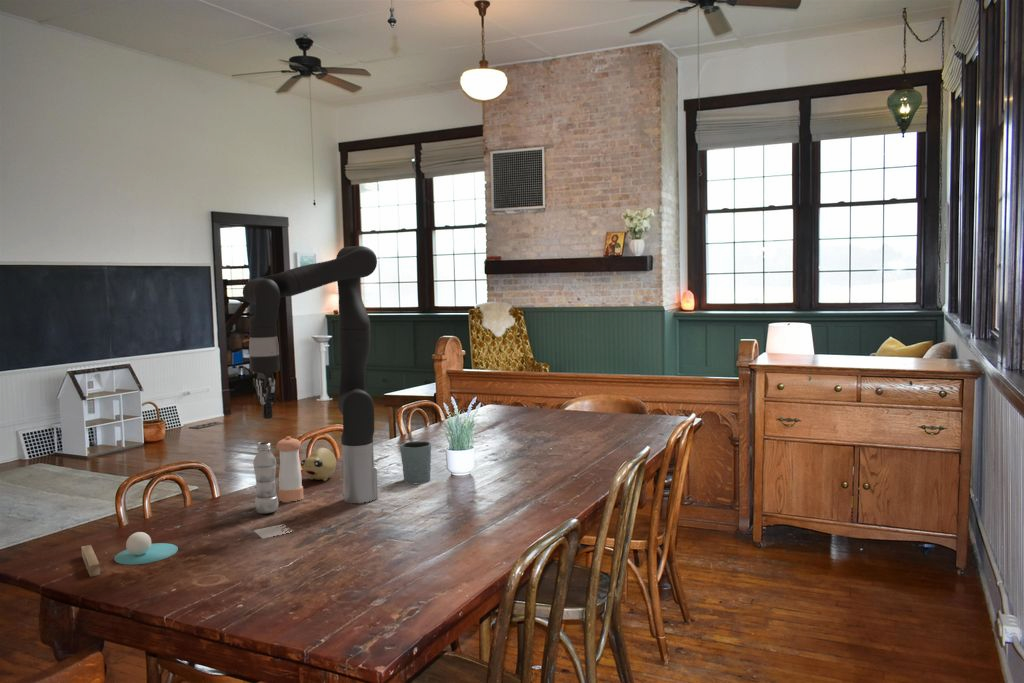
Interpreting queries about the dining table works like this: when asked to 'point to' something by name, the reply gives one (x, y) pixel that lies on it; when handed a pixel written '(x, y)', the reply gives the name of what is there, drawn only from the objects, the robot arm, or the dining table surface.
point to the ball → (138, 543)
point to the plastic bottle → (265, 479)
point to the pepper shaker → (289, 470)
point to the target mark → (147, 554)
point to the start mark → (271, 531)
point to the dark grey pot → (416, 461)
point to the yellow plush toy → (319, 464)
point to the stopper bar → (90, 560)
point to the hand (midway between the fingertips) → (267, 418)
